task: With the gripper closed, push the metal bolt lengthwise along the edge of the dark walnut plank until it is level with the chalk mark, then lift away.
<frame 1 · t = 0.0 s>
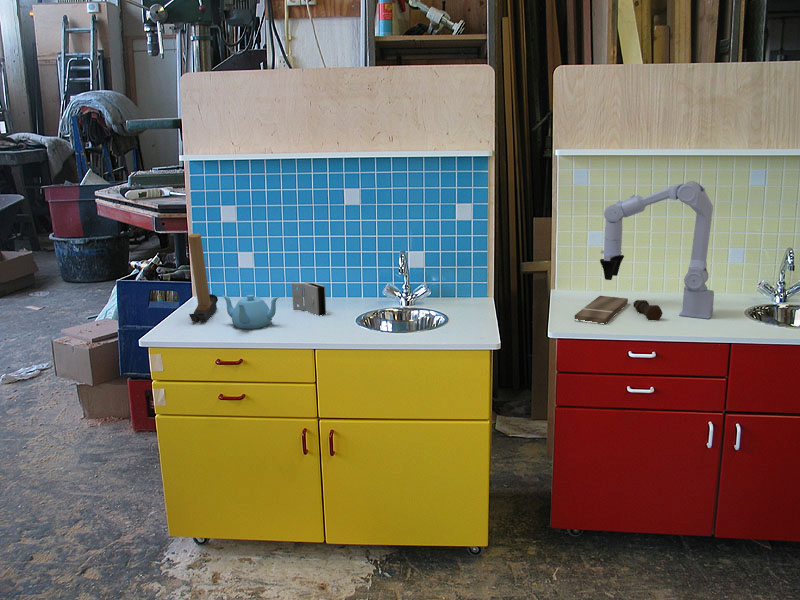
hand: (611, 277, 263), 10 cm above the table, tool pointing down, fingers open, 7 cm apart
plank: (602, 312, 257), on the table
hammer: (205, 317, 262), on the table
teapot: (251, 326, 249), on the table
bolt: (645, 316, 253), on the table
hinge: (309, 312, 265), on the table
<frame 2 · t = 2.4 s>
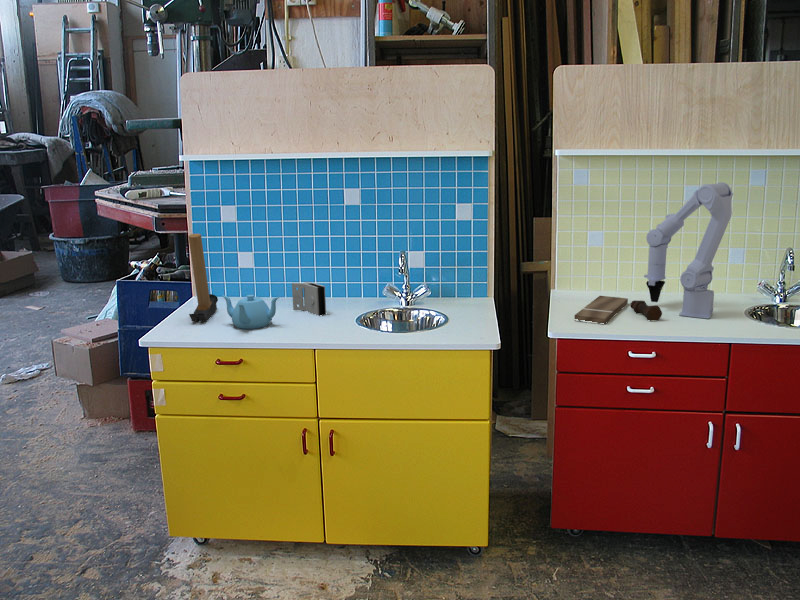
hand: (654, 301, 263), 2 cm above the table, tool pointing down, fingers closed
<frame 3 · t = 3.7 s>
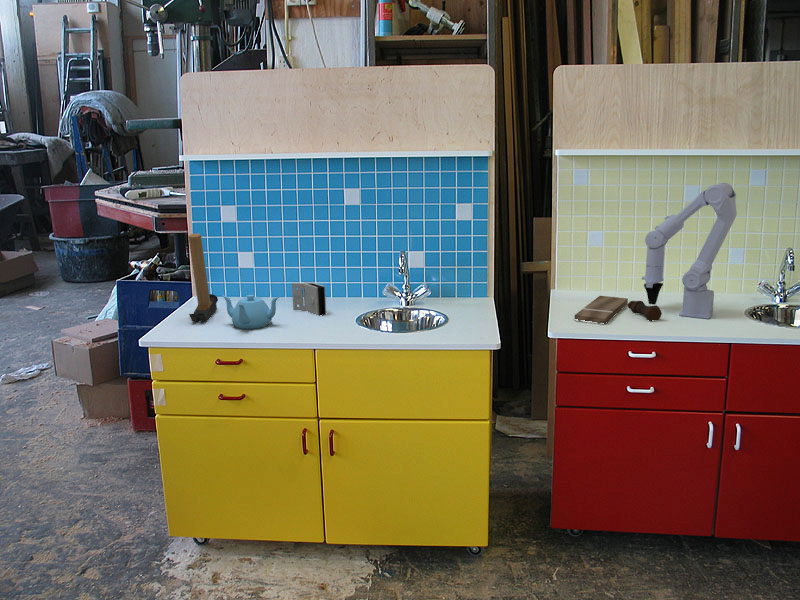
hand: (652, 303, 260), 2 cm above the table, tool pointing down, fingers closed
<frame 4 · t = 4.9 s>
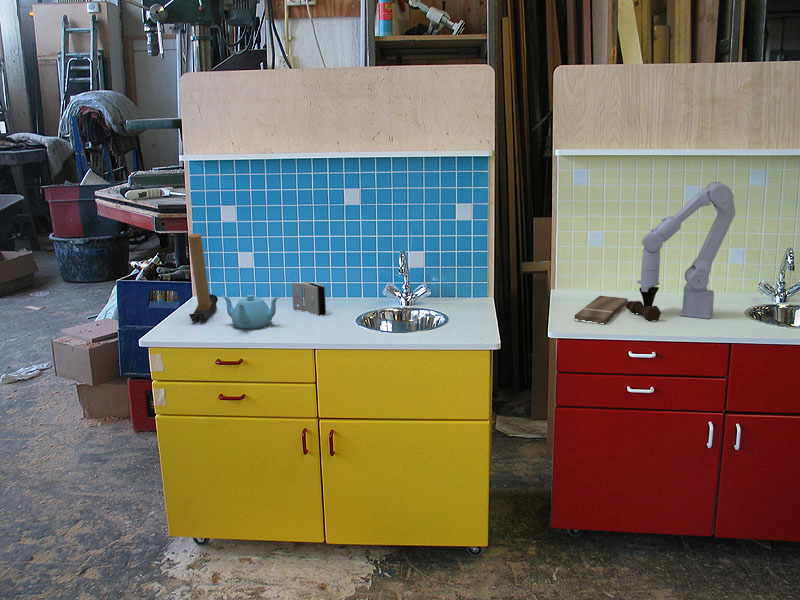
hand: (647, 308, 255), 2 cm above the table, tool pointing down, fingers closed
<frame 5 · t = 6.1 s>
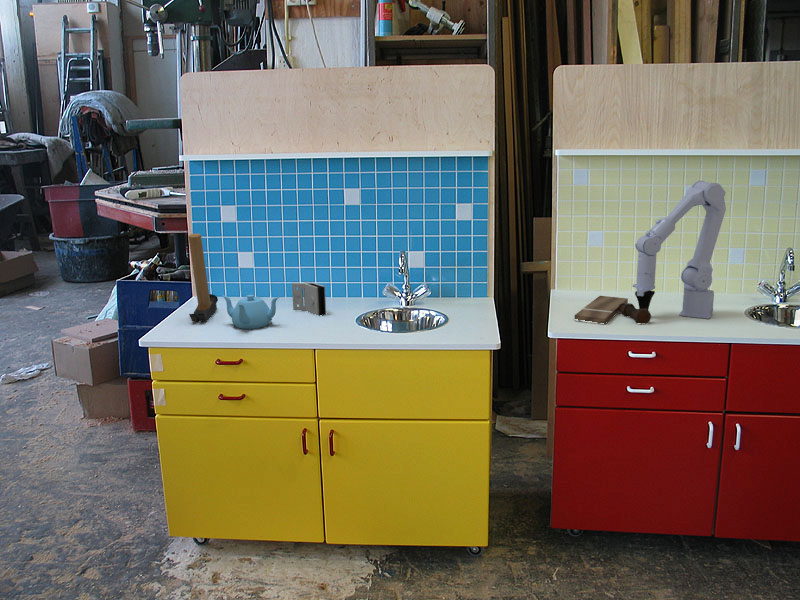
hand: (643, 312, 249), 2 cm above the table, tool pointing down, fingers closed
bolt: (632, 319, 250), on the table
everything else where it was.
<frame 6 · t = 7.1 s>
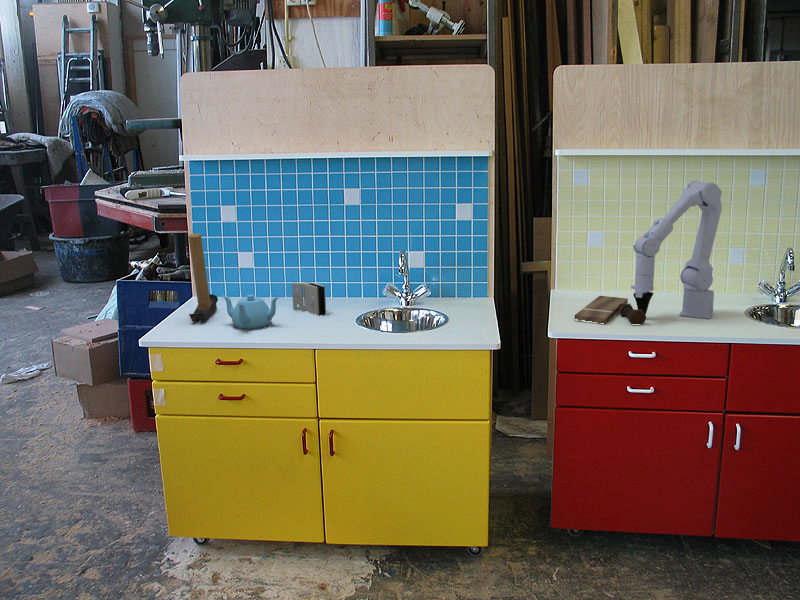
hand: (642, 314, 248), 2 cm above the table, tool pointing down, fingers closed
bolt: (629, 320, 248), on the table
everything else where it was.
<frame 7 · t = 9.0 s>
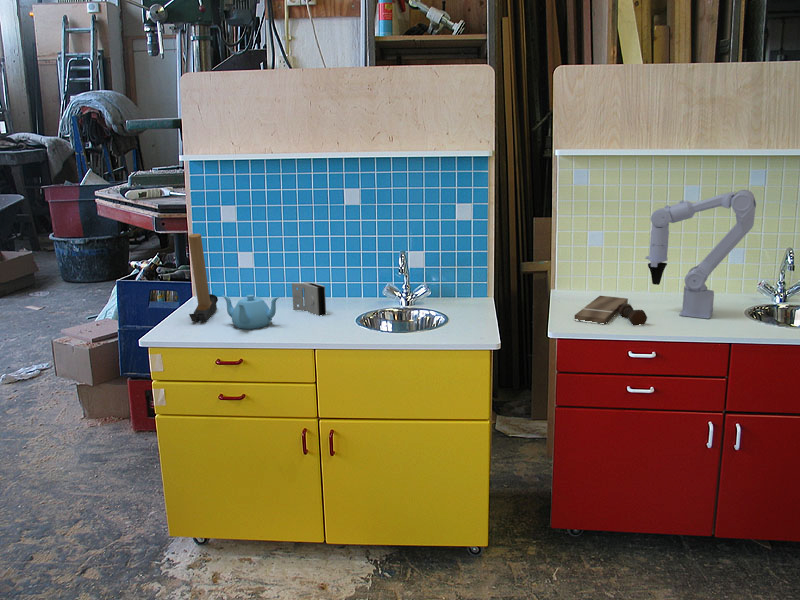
hand: (656, 284, 255), 9 cm above the table, tool pointing down, fingers closed
nothing on the table moved.
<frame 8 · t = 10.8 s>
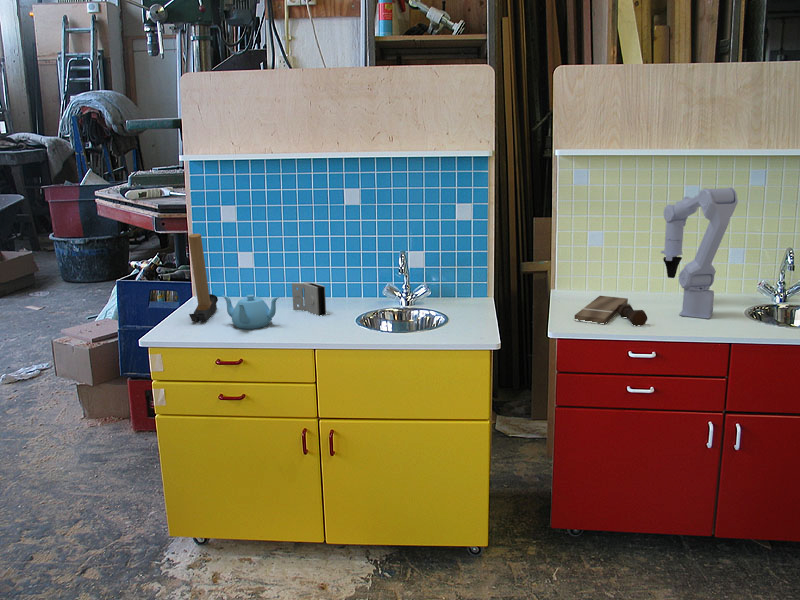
hand: (671, 277, 265), 9 cm above the table, tool pointing down, fingers closed
nothing on the table moved.
at the end: bolt inside the target area (2.4 cm from its centre), on the table; bolt moved 9.1 cm from its start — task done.
